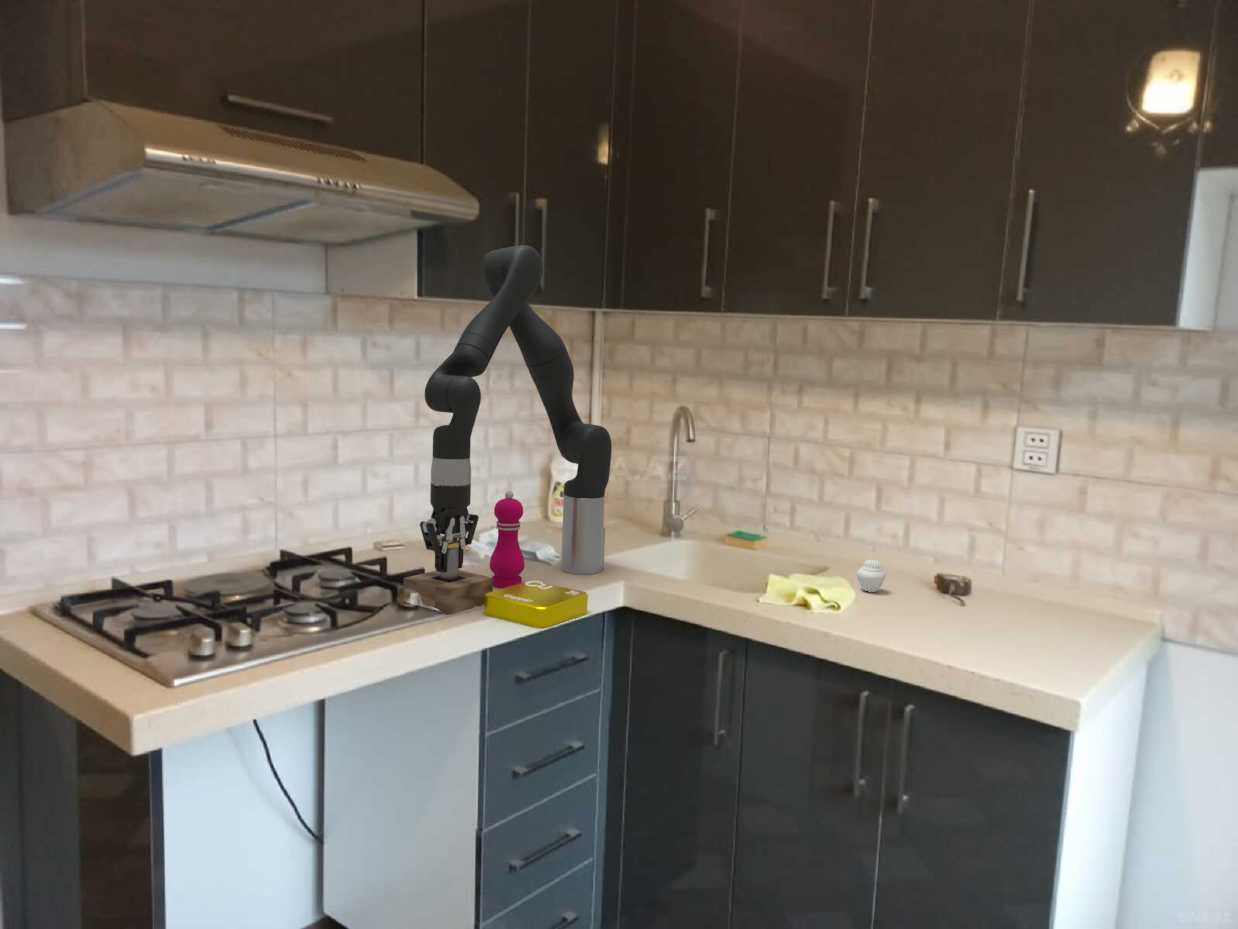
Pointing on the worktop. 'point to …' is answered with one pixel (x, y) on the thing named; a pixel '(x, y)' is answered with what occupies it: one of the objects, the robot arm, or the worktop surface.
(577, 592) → the element tile
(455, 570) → the metal pin
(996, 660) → the worktop surface
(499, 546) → the pepper mill
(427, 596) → the pin block
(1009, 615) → the worktop surface
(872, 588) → the white rounded jar
